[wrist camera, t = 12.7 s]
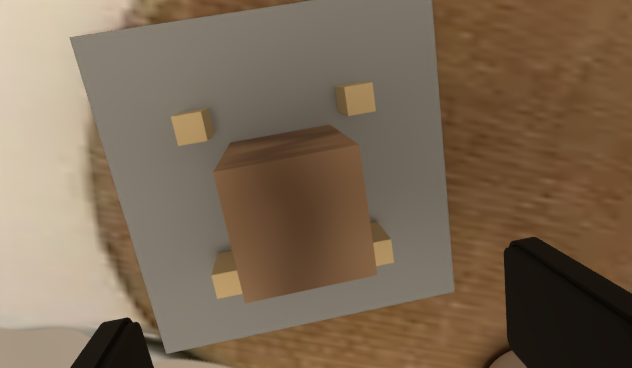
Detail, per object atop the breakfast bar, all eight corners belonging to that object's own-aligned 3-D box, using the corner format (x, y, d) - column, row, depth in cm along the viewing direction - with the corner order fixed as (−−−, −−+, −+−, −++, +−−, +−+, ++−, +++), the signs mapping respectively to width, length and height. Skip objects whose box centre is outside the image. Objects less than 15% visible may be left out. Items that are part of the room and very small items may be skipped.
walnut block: (329, 124, 24) (359, 144, 16) (344, 217, 26) (377, 275, 18) (230, 142, 24) (212, 172, 16) (251, 235, 25) (244, 303, 18)
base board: (420, -12, 24) (454, -33, 20) (445, 281, 30) (476, 316, 25) (81, 40, 23) (38, 30, 18) (171, 339, 28) (154, 386, 24)
